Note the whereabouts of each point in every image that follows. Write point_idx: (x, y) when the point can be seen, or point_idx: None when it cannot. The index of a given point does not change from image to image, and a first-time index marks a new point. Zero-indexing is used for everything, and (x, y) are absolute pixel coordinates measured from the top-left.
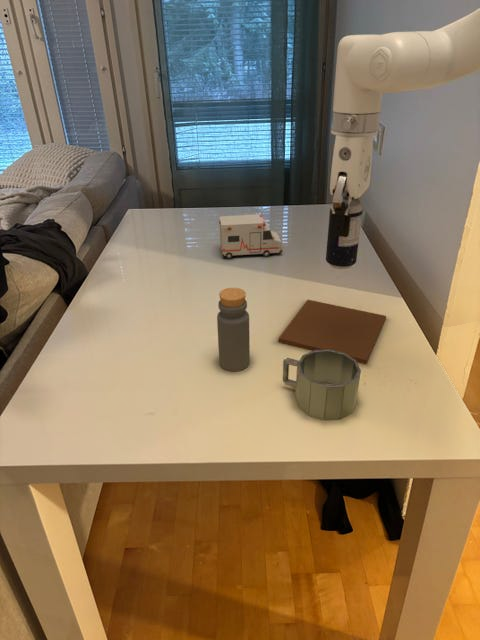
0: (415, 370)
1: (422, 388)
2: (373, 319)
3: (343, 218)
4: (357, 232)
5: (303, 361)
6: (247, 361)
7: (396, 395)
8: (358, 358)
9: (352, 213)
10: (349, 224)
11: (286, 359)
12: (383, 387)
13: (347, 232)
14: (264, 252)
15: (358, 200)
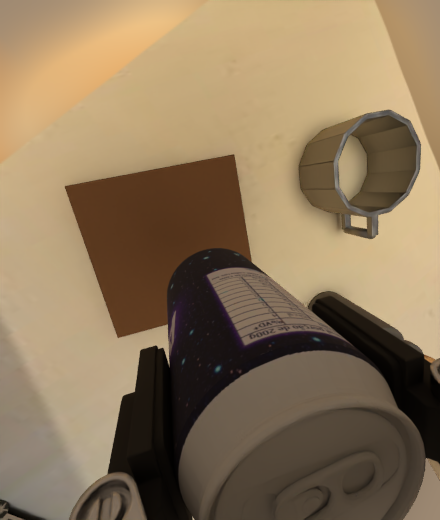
0: (199, 71)
1: (240, 44)
2: (98, 202)
3: (429, 366)
4: (259, 286)
5: (369, 210)
6: (330, 294)
7: (279, 80)
8: (236, 169)
9: (372, 368)
10: (368, 322)
11: (377, 234)
12: (271, 106)
13: (341, 305)
14: (3, 514)
15: (138, 501)
